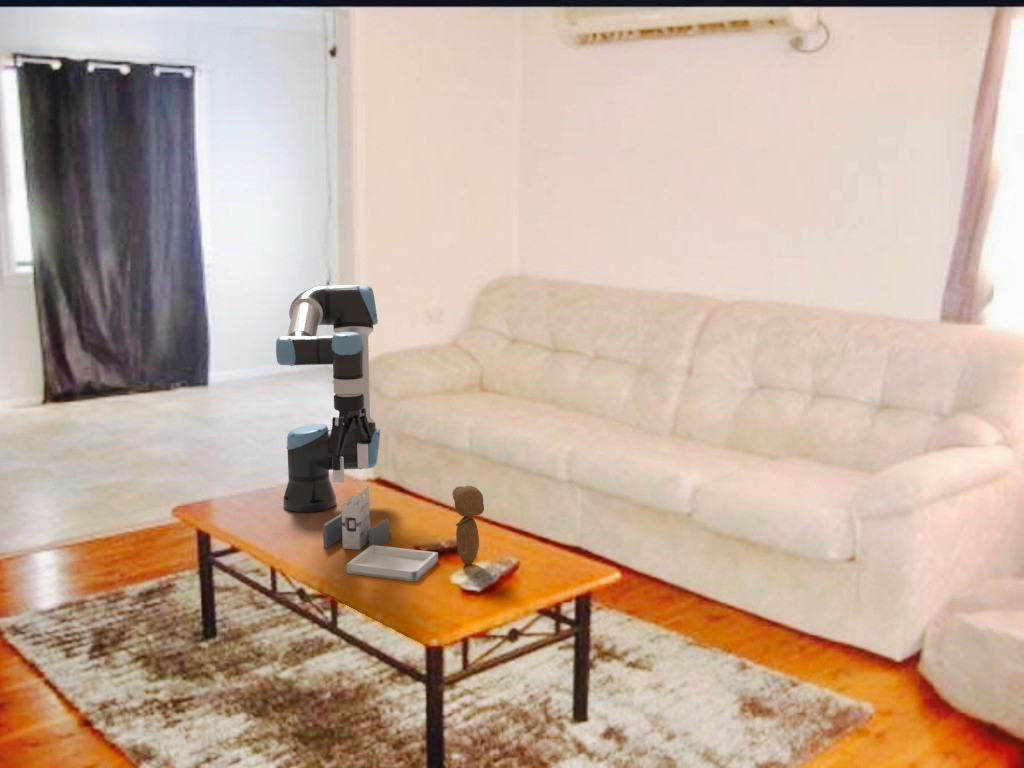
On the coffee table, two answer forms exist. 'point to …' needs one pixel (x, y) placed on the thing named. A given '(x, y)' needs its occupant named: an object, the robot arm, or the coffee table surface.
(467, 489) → the figurine
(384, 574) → the tray
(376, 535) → the bay
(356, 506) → the ink box
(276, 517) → the coffee table surface
